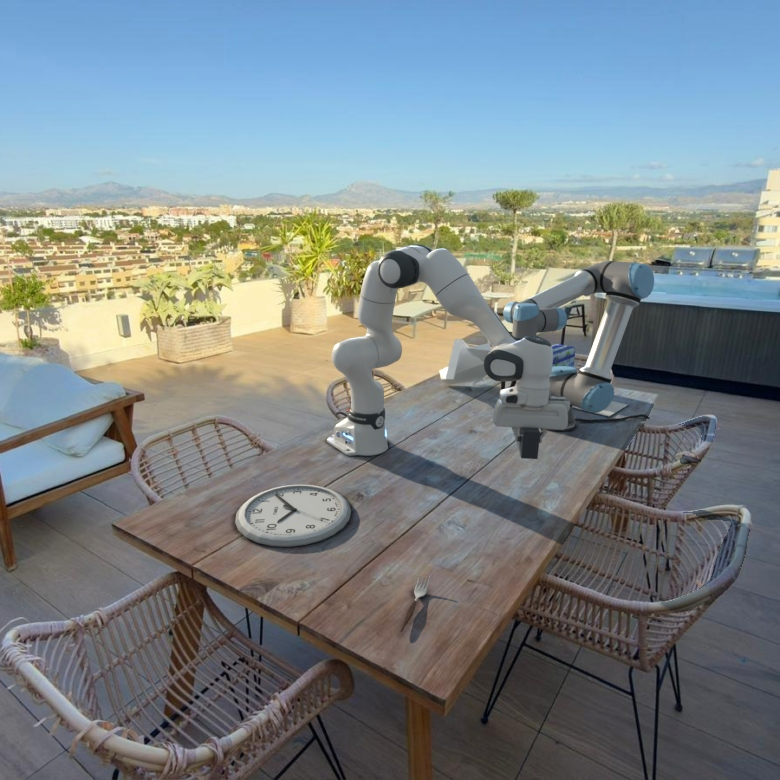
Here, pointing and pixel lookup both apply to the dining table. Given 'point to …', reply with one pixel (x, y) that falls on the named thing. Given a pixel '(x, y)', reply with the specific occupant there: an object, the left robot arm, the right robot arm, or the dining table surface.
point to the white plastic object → (466, 363)
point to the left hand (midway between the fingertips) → (527, 441)
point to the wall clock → (293, 515)
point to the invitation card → (610, 408)
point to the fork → (418, 593)
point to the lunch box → (563, 355)
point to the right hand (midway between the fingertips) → (516, 420)
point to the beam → (528, 442)
